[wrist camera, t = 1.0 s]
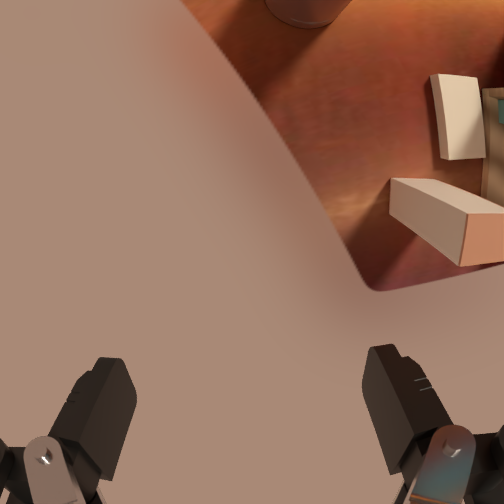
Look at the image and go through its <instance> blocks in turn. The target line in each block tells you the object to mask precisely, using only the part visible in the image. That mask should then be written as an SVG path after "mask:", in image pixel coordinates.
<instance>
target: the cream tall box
mask: <svg viewBox="0 0 504 504" xmlns="http://www.w3.org/2000/svg"><path fill="white" fill-rule="evenodd" d="M389 214H390V215H391V216H393V217H394V218H396V219H397V220H398V221H400V222H401V223H403V224H404V225H405V226H407V227H408V228H409V229H411V230H412V231H414V232H415V233H416V234H418V235H419V236H420V237H422V238H423V239H424V240H426V241H427V242H428V243H430V244H431V245H432V246H433V247H435V248H436V249H437V250H439V251H440V252H441V253H442V254H444V255H445V256H446V257H447V258H449V259H450V260H451V261H452V262H454V263H455V264H456V265H457V266H460V267H461V266H469V265H477V264H485V263H493V262H501V261H504V207H502V206H500V205H498V204H496V203H493V202H491V201H489V200H487V199H484V198H482V197H480V196H477V195H475V194H472V193H470V192H468V191H465V190H463V189H460V188H458V187H455V186H452V185H450V184H447V183H445V182H442V181H439V180H436V179H418V178H390V199H389Z"/></svg>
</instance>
